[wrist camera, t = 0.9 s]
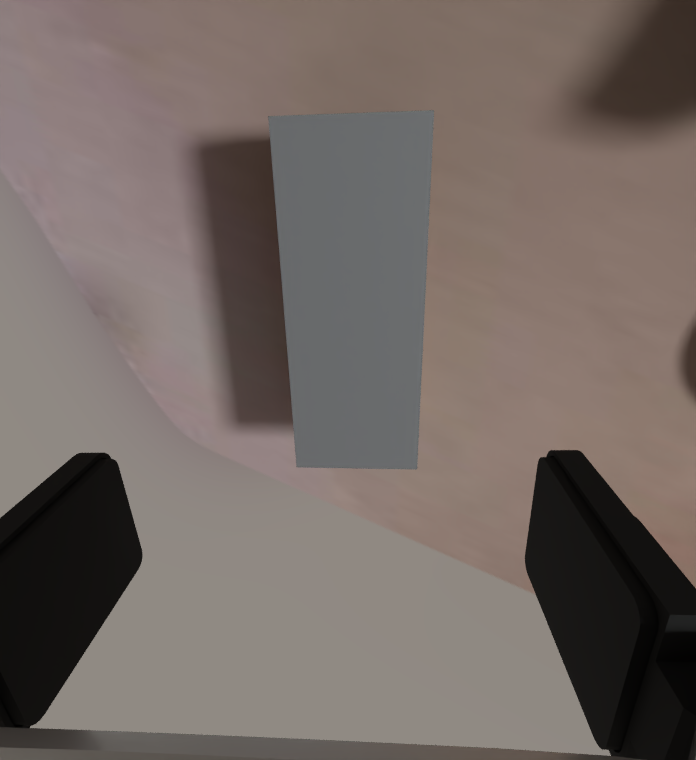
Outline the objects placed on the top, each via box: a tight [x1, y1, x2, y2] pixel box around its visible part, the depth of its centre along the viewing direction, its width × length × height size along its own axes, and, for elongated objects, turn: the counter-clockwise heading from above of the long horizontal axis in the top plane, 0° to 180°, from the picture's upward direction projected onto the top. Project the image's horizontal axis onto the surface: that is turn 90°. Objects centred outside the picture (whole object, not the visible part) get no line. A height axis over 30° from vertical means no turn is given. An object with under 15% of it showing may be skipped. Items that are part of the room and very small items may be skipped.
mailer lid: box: [268, 110, 434, 469], centre depth 25 cm, size 19×8×3 cm, turn 1°
